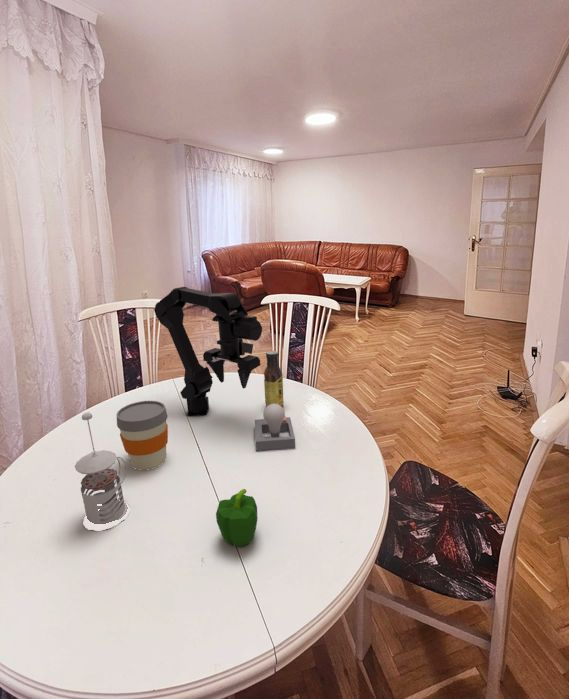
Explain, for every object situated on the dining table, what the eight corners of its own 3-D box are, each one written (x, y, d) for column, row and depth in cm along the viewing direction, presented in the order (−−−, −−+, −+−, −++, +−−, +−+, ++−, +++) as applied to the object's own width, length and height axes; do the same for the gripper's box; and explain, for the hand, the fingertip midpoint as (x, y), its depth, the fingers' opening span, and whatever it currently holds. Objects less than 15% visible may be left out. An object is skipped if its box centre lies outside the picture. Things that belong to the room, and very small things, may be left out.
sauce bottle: (283, 411, 134) (281, 355, 128) (264, 412, 134) (262, 356, 128) (284, 403, 140) (282, 349, 134) (266, 403, 140) (263, 349, 134)
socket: (256, 451, 111) (255, 439, 110) (255, 428, 123) (254, 417, 122) (295, 448, 112) (295, 436, 111) (290, 425, 124) (290, 414, 123)
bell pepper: (231, 560, 75) (227, 516, 72) (211, 534, 82) (207, 493, 79) (268, 539, 80) (266, 497, 77) (247, 517, 86) (244, 477, 83)
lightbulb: (283, 445, 114) (282, 409, 110) (262, 443, 115) (260, 408, 111) (287, 434, 119) (285, 400, 116) (267, 433, 120) (265, 399, 117)
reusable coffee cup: (140, 446, 115) (132, 398, 111) (180, 450, 113) (174, 401, 108) (114, 472, 104) (104, 420, 99) (158, 476, 101) (150, 423, 97)
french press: (71, 525, 86) (47, 420, 78) (112, 492, 96) (93, 396, 88) (107, 536, 82) (84, 428, 75) (145, 501, 92) (129, 402, 85)
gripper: (270, 334, 119) (272, 382, 124) (225, 326, 130) (229, 371, 135) (246, 343, 111) (249, 395, 116) (199, 334, 121) (204, 382, 126)
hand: (233, 385), depth 123 cm, fingers open, 9 cm apart
